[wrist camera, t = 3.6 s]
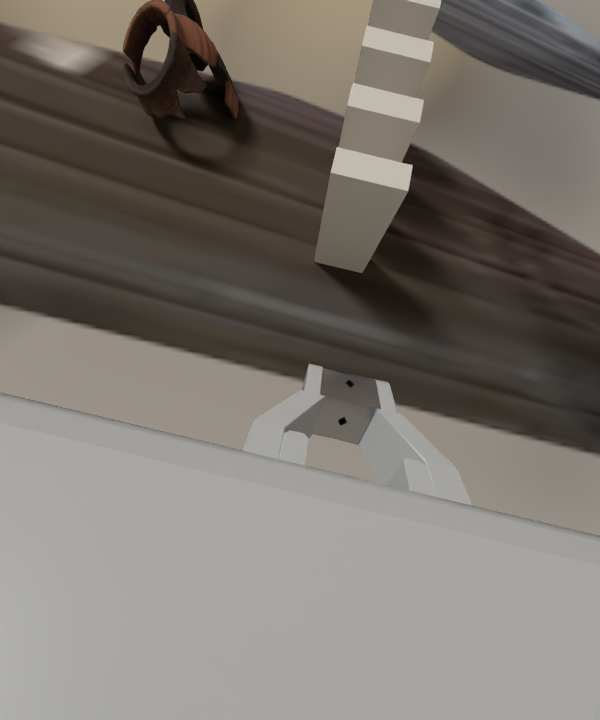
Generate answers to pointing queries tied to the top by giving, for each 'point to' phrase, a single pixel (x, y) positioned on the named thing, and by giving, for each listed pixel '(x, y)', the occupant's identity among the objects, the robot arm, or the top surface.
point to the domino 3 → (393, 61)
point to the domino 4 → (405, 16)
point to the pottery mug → (173, 58)
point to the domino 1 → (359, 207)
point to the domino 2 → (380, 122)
